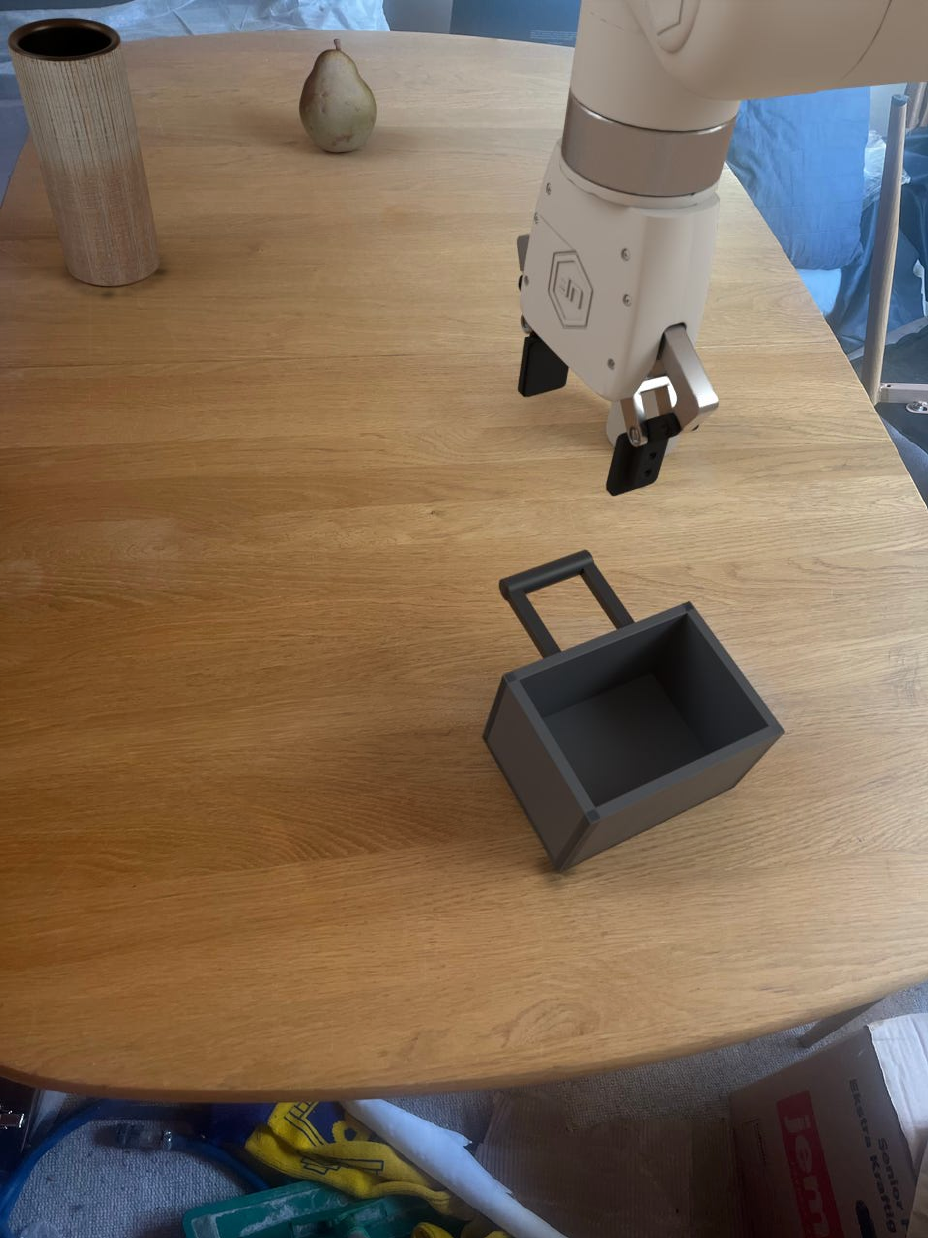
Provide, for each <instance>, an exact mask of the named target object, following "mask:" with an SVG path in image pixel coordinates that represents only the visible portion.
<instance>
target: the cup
mask: <svg viewBox="0 0 928 1238" xmlns="http://www.w3.org/2000/svg"><path fill="white" fill-rule="evenodd" d="M699 359H700V361H701V364H702V363H703V362H702V359H701V358H700V357H699ZM702 365H703V364H702ZM650 377H654V375H653V373H652V372H651V371H650V372H649V374H648V376H647V377H646V379H647V378H650ZM641 398H642V403H643V408H644V412H645V417H646V420H647V419H650V418H653V417H656V416H659V411H658V406H657V401H656V396H655V391H654V390H651V391H648V392H644V393H641ZM610 402H611V401H610ZM625 432H627V430H626V426H625V421H624V417H623V412H622V407H621V403H620V401H617V402H611V403H610V406H609V411H608V416H607V420H606V424H605V433H606V436H607V439H608V441H609V442H610V444H611V445H612V446H613V448H615V444H616V440H617V437H618V436H619V435H620V434H622V433H625ZM681 437H682V434H681V435H678V436H675V437H672V438H669V440H668V444H667V447H666V451H665V454H664V458H665V457H667V456H668V455H670V454H672V452H674V451H675V450H676V448H677V447H678V445H679V443H680V441H681Z"/></svg>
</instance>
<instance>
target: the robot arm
mask: <svg viewBox="0 0 928 1238" xmlns="http://www.w3.org/2000/svg"><path fill="white" fill-rule="evenodd" d="M578 17H579V18H578V23H577V30H576V38H575V46H574V52H573V58H572V65H571V66H572V67H571V71H570V72H571V74H570V78H569V79H570V80H569V88H568V94H567V101H566V107H565V115H564V123H563V129H562V136H560V138H558V139H557V140H556V142H555V144H554V147H553V149H552V152H551V154H550V157H549V160H548V162H547V165H546V169H545V171H544V174H543V175H544V176H543V178H542V181H541V185H540V188H539V192H538V197H537V199H536V200H537V201H536V203H535V209H534V213H533V218H532V223H531V227H530V232H529V233H525V234H521V235H518V236H517V239H516V247H517V248H516V249H517V255H518V264H519V271H520V272H522V274H521V275H520V276H519V278H518V283H517V285H518V290H519V292H520V296H519V308H520V311H521V316H520V325H521V330H522V331H523V333H525V334H526V335H528V336H525V337H524V339H523V346H522V352H521V353H522V354H521V361H520V369H519V377H518V383H517V391H518V393H519V394H520V395H521V396H522V397H523V398H531V397H534V396H537V395H542V394H545V393H548V392H552V391H557V390H559V389H563V388H564V387H565V386H566V385H567V381H568V377H569V376H568V375H569V370H571V371H572V372H573V373H574V374H575V375H576V376H577V377H578V378H579V379H580V380H581V381H582V382H583V383H584V384H585V385H586V386H587V387H588V388H589V389H591V391H592V392H594V393H595V394H596V395H597V396H599V397H600V398H602V399H604V400H605V401H607V402H617V401H620V403H621V407H622V412H623V417H624V421H625V426H626V430H627V432H625V433H622V434H620V435H619V436H618V437H617V440H616V444H615V447H613V448H614V449H613V452H612V457H611V461H610V465H609V469H608V470H609V471H608V472H607V473H608V474H607V478H606V482H605V490H606V491H607V492H608V494H609V495H610V496H611V497H617V496H620V495H624V494H626V493H629V492H632V491H635V490H638V489H643V488H645V487H647V486H650V485H652V484H654V483H655V482H657V480H658V478H659V475H660V471H661V469H662V468H661V467H662V464H663V460H664V458H665V457H664V454H665V451H666V447H667V444H668V440H669V438H672V437H675V436H678V435H681V436H682V435H685V434H688V433H690V432H694V431H696V430H697V429H698V428H699V427H700V424H703V422H705V421H706V420H707V419H708V418H709V417H710V416H711V415H712V414H714V413H715V412H716V411H717V409H718V408H719V405H720V404H719V403H720V402H719V401H720V400H719V398H718V395H717V393H716V390H715V389H714V387H713V384H712V382H711V380H710V378H709V376H708V374H707V372H706V369H705V368H704V365H703V364H701V363H702V360H701V358H700V356H699V354H698V353H697V351H696V349H695V346H696V343H697V339H698V335H699V332H700V328H701V324H702V320H703V316H704V313H705V312H704V311H705V307H706V302H707V298H708V293H709V289H710V288H709V287H710V283H711V277H712V272H713V266H714V265H713V264H714V260H715V259H714V258H715V253H716V246H717V236H718V228H719V218H720V207H721V197H720V196H719V194H717V192H716V191H717V190H718V188H719V185H720V181H721V176H722V173H723V170H724V167H725V163H726V159H727V156H728V151H729V149H730V144H731V141H732V137H733V134H734V130H735V125H736V122H737V118H738V116H739V115H738V114H739V110H740V107H741V103H742V101H750V100H763V99H773V98H780V97H790V96H798V95H799V96H801V95H809V94H816V93H819V92H824V91H832V90H844V89H854V88H855V89H857V88H865V87H876V86H877V87H878V86H886V85H887V86H889V85H898V84H910V83H911V84H912V83H913V84H914V83H927V82H928V0H581V2H580V10H579V16H578ZM699 358H700V359H699ZM700 360H701V361H700ZM650 371H651V372H652V373H653V375H654V377H650V378H647V379H646V377H647V376H648V374H649V372H650ZM651 390H654V391H655V396H656V401H657V406H658V411H659V416H656V417H653V418H650V419H647V420H646V417H645V412H644V408H643V403H642V398H641V393H644V392H648V391H651Z"/></svg>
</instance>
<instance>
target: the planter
mask: <svg viewBox="0 0 928 1238" xmlns="http://www.w3.org/2000/svg"><path fill="white" fill-rule="evenodd" d="M6 43H7V48H8V51H9V56H10V60H11V63H12V66H13V70H14V74H15V77H16V82H17V85H18V89H19V93H20V96H21V100H22V104H23V107H24V111H25V115H26V120H27V123H28V127H29V130H30V134H31V139H32V142H33V146H34V150H35V153H36V158H37V161H38V165H39V168H40V172H41V176H42V179H43V183H44V188H45V191H46V195H47V198H48V202H49V206H50V210H51V213H52V218H53V221H54V224H55V229H56V231H57V236H58V240H59V243H60V248H61V251H62V256H63V259H64V262H65V265H66V267H67V270H68V272H69V273H70V275H72V276H73V277H74V278H75V279H77V280H79V281H81V282H84V283H86V284H89V285H94V286H99V287H119V286H126V285H131V284H134V283H137V282H140V281H143V280H144V279H146V278H147V277H149V276H151V275H152V274H153V273H155V271H157V269H158V268H159V266H160V264H161V254H160V246H159V241H158V235H157V230H156V224H155V218H154V214H153V213H154V212H153V208H152V207H153V206H152V203H151V197H150V196H151V195H150V192H149V186H148V181H147V175H146V169H145V164H144V159H143V152H142V148H141V142H140V137H139V131H138V126H137V120H136V115H135V110H134V103H133V99H132V93H131V87H130V82H129V81H130V80H129V75H128V71H127V65H126V60H125V54H124V48H123V44H122V39H121V36H120V34H119V33H118V31H116V29H114V28H113V27H111V26H109V25H107V24H105V23H102V22H100V21H96V20H92V19H85V18H77V17H55V18H46V19H45V18H44V19H40V20H35V21H32V22H28V23H25V24H23V25H21V26H18V27H17V28H15V29H14V30H13V31H12V32H10V34H9V35H8V37H7V42H6Z"/></svg>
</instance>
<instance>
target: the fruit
mask: <svg viewBox="0 0 928 1238" xmlns="http://www.w3.org/2000/svg"><path fill="white" fill-rule="evenodd" d="M333 44H334V46H335V48H332V49H330V48H329V49H325V50H323V51H322V52H320V53H319V55H318V56H317V57H316V59H315V61H314V65H313V67H312V69H311V71H310V73H309V75H308V76H307V77H306V79H305V81H304V83H303V86H302V90H301V94H300V98H299V103H298V113H299V119H300V122H301V124H302V127H303V129H304V131H305V132H306V133H307V135H308V136H309V137H310V138H311V139H312V141H313V143H314V144H315V145H316V146H318V147H319V148H320V149H321V150H324V151H327V152H329V153H342V152H345V153H346V152H351V151H355V150H358V149H360V148H362V147H364V145H365V144H366V143H367V141H368V140H369V138H370V137H371V135H372V133H373V131H374V129H375V126H376V122H377V116H378V106H377V102H376V101H377V100H376V98H375V96H374V93H373V91H372V89H371V88H370V86H369V85H368V84H367V82H365V80H364V79H363V78H362V77H361V75H360V73H359V70H358V67H357V65H356V63H355V61H354V60H353V59H352V58H351V56H349V55H348V54H347V53H345V52H344V51H343V50H342V47H341V46H342V45H341V39H339V38H335V39H333Z"/></svg>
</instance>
